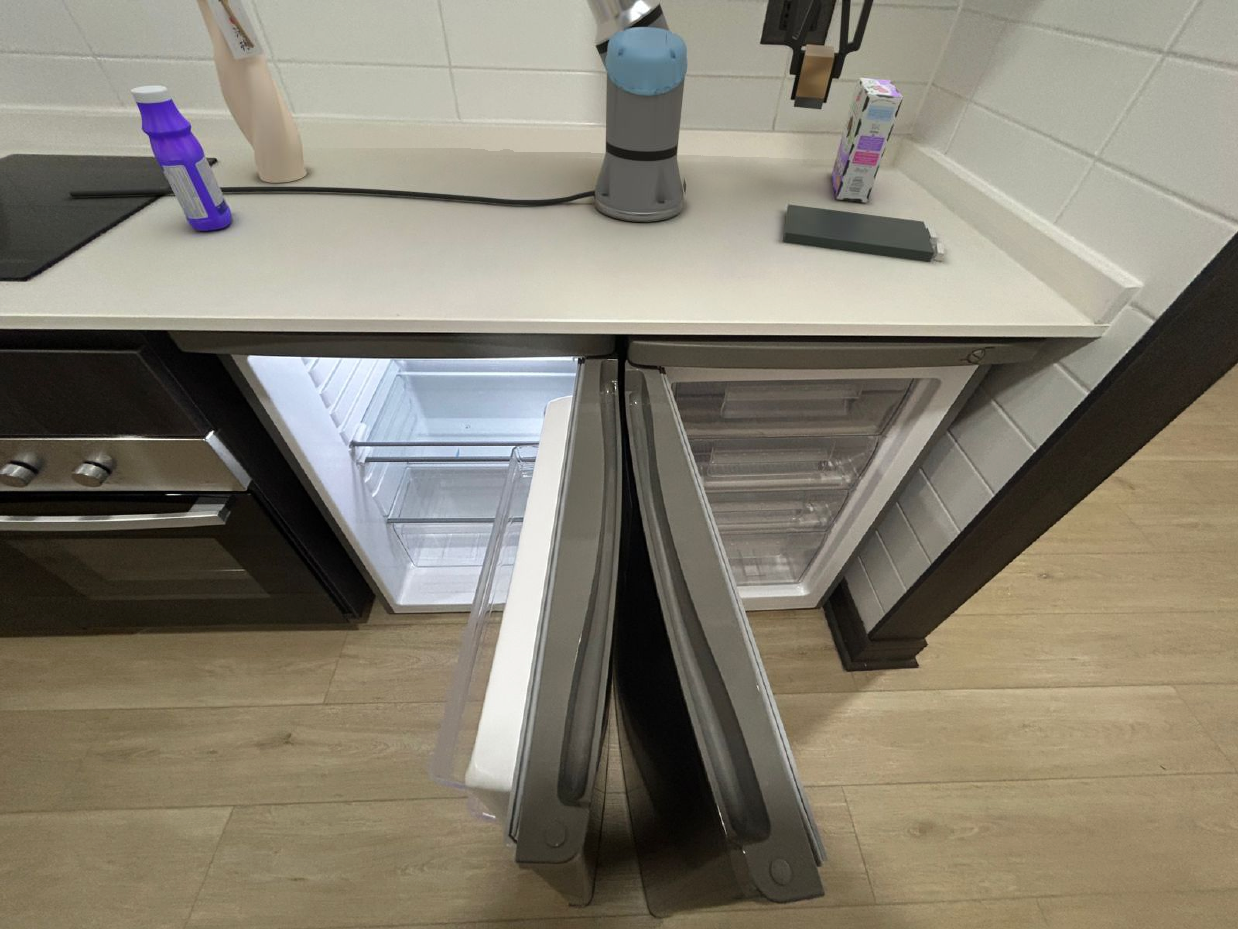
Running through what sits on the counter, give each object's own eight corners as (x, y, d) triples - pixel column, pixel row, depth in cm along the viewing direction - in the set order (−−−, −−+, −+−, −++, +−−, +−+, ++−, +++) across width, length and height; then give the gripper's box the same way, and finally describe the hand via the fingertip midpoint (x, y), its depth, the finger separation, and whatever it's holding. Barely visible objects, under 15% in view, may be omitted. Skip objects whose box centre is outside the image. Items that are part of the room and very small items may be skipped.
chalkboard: (783, 241, 87) (785, 232, 86) (786, 213, 95) (788, 204, 94) (930, 261, 83) (934, 252, 82) (920, 230, 92) (923, 221, 90)
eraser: (793, 106, 91) (804, 54, 86) (795, 92, 98) (806, 44, 93) (821, 109, 91) (834, 57, 86) (821, 95, 97) (833, 46, 92)
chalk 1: (928, 244, 88) (934, 244, 88) (931, 236, 87) (938, 237, 87) (924, 233, 91) (930, 234, 91) (927, 226, 90) (933, 227, 90)
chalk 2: (934, 260, 84) (941, 261, 84) (937, 252, 83) (944, 253, 83) (933, 249, 87) (940, 250, 86) (936, 241, 86) (943, 242, 85)
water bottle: (326, 175, 100) (260, -33, 80) (282, 189, 94) (198, -30, 74) (291, 163, 103) (218, -39, 83) (245, 176, 98) (156, -36, 78)
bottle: (194, 217, 86) (126, 83, 73) (235, 212, 87) (176, 80, 75) (190, 235, 81) (116, 96, 68) (233, 230, 83) (169, 93, 70)
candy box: (867, 204, 99) (904, 96, 87) (834, 200, 100) (866, 93, 88) (860, 178, 109) (892, 77, 97) (829, 175, 109) (858, 75, 97)
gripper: (789, -98, 76) (754, 99, 93) (923, -93, 74) (862, 110, 90) (791, -98, 81) (758, 89, 98) (916, -93, 79) (860, 99, 95)
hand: (808, 99), depth 94 cm, fingers closed on eraser, 4 cm apart
